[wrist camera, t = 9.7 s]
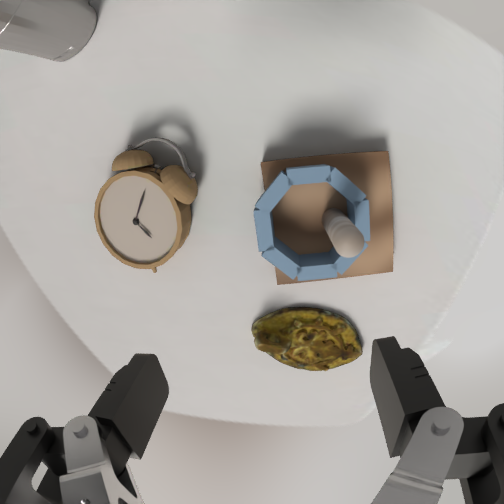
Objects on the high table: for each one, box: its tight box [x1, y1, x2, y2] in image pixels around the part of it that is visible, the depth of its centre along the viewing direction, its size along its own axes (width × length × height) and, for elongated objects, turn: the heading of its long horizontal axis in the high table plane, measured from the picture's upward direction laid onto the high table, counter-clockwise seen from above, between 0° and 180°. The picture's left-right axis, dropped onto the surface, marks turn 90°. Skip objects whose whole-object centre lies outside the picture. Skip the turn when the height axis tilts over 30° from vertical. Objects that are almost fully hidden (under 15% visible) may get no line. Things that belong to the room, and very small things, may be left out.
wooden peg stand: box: [261, 151, 393, 285], centre depth 27 cm, size 13×13×10 cm
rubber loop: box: [254, 164, 370, 281], centre depth 28 cm, size 10×10×4 cm
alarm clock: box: [94, 138, 198, 273], centre depth 31 cm, size 11×5×15 cm
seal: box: [252, 307, 363, 371], centre depth 35 cm, size 9×5×15 cm
